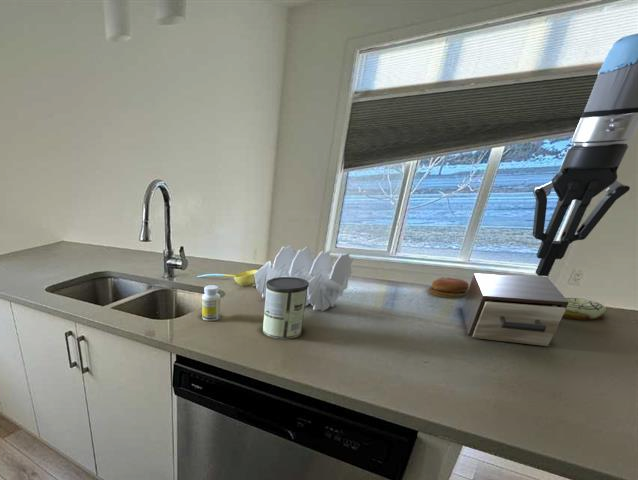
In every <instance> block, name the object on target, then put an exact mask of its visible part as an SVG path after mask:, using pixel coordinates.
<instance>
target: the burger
mask: <svg viewBox="0 0 638 480" xmlns="http://www.w3.org/2000/svg"><path fill="white" fill-rule="evenodd" d="M469 287H470V284H469V283H468V281H467V280H465V279H462V278H461V279H460V278H455V277H449V276H448V277H439V278H436V279H434V280H433V281H432V282H431V286H429V288H428V292H429V293H430V294H431V295H433V296H434V297H438V298H446V299H455V298H457V299H458V298H462V297H464V296H465V294H467V292H468V289H469Z"/></svg>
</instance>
